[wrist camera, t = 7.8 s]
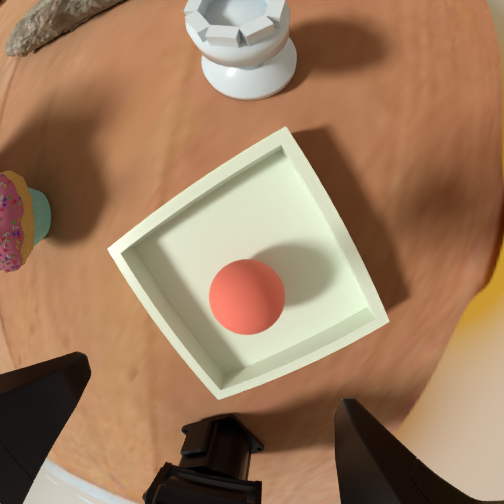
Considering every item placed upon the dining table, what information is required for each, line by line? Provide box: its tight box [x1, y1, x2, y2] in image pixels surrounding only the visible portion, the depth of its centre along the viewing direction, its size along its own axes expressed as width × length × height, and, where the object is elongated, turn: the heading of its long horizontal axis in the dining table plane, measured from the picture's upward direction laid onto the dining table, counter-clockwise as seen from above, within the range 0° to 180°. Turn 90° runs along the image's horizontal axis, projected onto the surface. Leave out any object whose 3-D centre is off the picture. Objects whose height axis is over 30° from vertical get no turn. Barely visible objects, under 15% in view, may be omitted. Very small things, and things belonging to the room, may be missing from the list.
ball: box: [209, 259, 285, 335], centre depth 17 cm, size 5×5×5 cm
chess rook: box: [184, 0, 297, 101], centre depth 12 cm, size 6×6×8 cm
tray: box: [108, 126, 390, 400], centre depth 18 cm, size 14×14×3 cm
